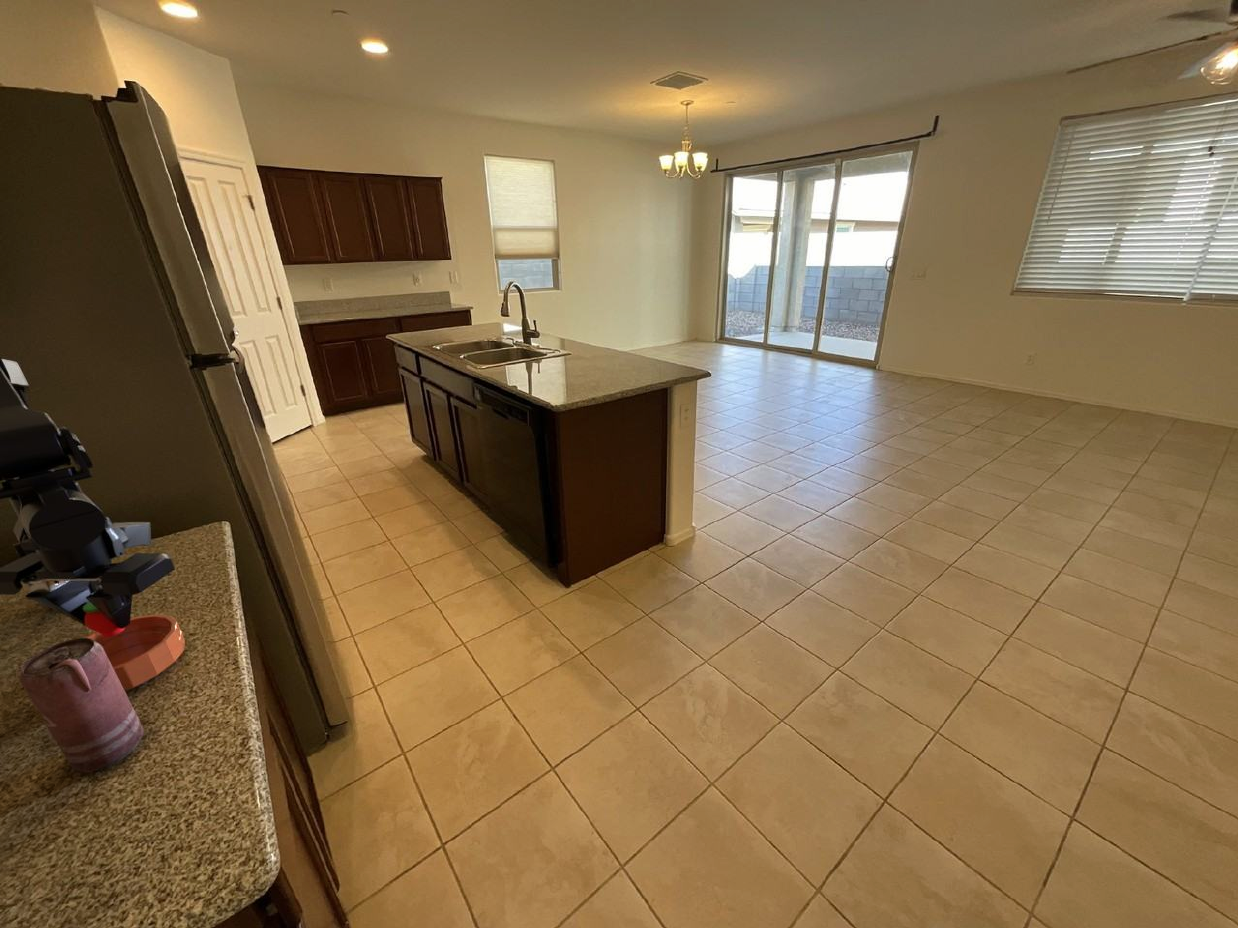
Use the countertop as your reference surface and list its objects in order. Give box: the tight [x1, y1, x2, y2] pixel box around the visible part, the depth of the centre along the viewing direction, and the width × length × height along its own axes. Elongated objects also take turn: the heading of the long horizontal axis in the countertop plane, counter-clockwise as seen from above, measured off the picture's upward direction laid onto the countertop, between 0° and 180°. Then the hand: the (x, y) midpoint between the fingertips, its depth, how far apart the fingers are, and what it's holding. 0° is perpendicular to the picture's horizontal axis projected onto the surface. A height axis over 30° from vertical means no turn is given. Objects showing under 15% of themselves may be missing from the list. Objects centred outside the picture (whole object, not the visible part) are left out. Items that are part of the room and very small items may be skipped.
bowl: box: [84, 613, 186, 692], centre depth 69 cm, size 12×12×4 cm
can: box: [18, 637, 145, 773], centre depth 55 cm, size 6×6×14 cm
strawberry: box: [83, 602, 125, 637], centre depth 67 cm, size 4×4×5 cm
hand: (110, 626), depth 67 cm, fingers closed on strawberry, 4 cm apart
